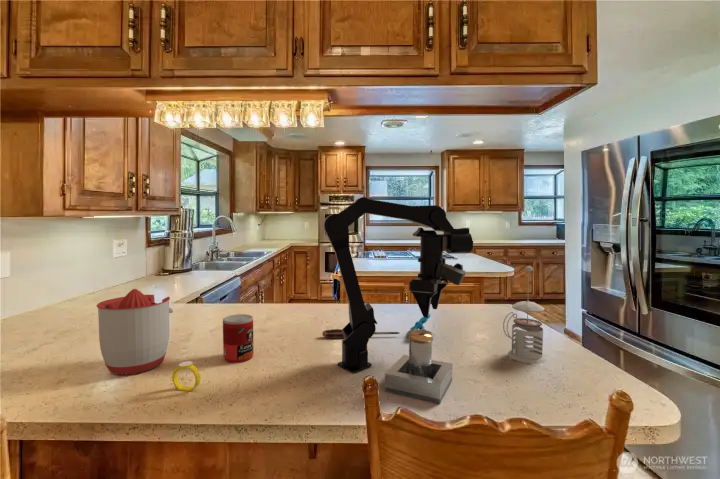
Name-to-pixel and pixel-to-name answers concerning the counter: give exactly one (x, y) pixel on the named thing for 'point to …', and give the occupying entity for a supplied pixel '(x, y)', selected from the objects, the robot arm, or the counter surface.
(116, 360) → the citrus juicer
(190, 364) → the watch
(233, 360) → the canned food
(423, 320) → the teal bumpy piece
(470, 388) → the counter surface
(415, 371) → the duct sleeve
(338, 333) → the screwdriver
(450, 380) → the collar
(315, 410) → the counter surface
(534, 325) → the french press
